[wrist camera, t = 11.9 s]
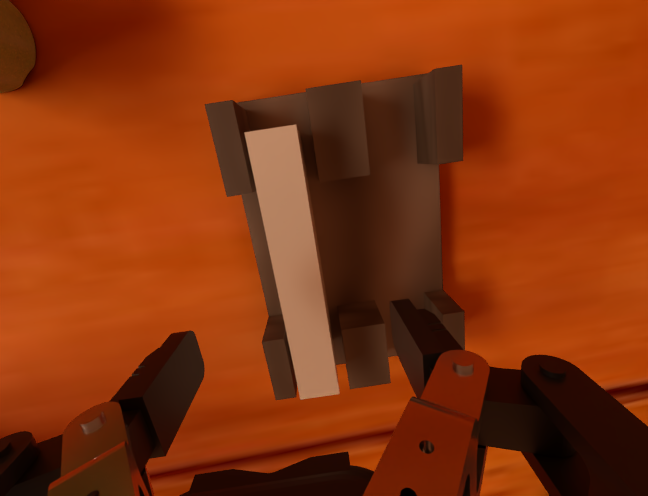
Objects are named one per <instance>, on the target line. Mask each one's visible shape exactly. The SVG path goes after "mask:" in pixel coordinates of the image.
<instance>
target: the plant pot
mask: <svg viewBox="0 0 648 496" xmlns="http://www.w3.org/2000/svg"><path fill="white" fill-rule="evenodd" d="M35 60H36V49H35V43H34V39H33V35H32V32H31V30H30V28H29V26H28V24H27V22H26V20H25V18H24V17H23V15H22V14H21V13H20V11H19V10H18V9H17V8H16V7H15V6H14V5H13V4H12V3H11V2H10V1H9V0H0V93H3V92H9V91H13V90H15V89H17V88H19V87H20V86H22V85H23V82H24V79H25V78H26V76H27V75H28V73H29V72H30V71H31V69H32V68H33V67H34V65H35Z"/></svg>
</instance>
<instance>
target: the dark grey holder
mask: <svg viewBox="0 0 648 496" xmlns="http://www.w3.org/2000/svg"><path fill="white" fill-rule="evenodd" d="M205 108H206V112H207V116H208V120H209V124H210V128H211V132H212V137H213V141H214V145H215V149H216V153H217V157H218V162H219V166H220V170H221V174H222V178H223V182H224V186H225V191H226V195H227V197H229V196H235V195H242V199H243V204H244V208H245V212H246V217H247V221H248V226H249V230H250V235H251V239H252V243H253V248H254V252H255V257H256V261H257V266H258V270H259V274H260V279H261V283H262V288H263V292H264V297H265V301H266V305H267V310H268V314H269V318H268V322H267V325H266V329H265V333H264V336H263V340H262V344H263V348H264V353H265V357H266V361H267V365H268V369H269V373H270V377H271V382H272V386H273V390H274V394H275V398H276V400H281V399H287V398H294V397H296V392H297V381H296V376H295V371H294V366H293V362H292V357H291V352H290V347H289V343H288V338H287V333H286V328H285V324H284V319H283V314H282V309H281V305H280V300H279V295H278V290H277V286H276V281H275V276H274V271H273V267H272V262H271V257H270V252H269V248H268V243H267V238H266V233H265V228H264V224H263V219H262V214H261V209H260V205H259V200H258V195H257V190H256V186H255V181H254V176H253V171H252V167H251V162H250V157H249V152H248V148H247V143H246V138H245V133H244V132H250V131H257V130H263V129H270V128H276V127H283V126H289V125H297V128H298V130H299V132H300V134H301V140H302V147H303V153H304V159H305V166H306V172H307V178H308V184H309V191H310V197H311V203H312V210H313V216H314V222H315V229H316V235H317V241H318V247H319V254H320V260H321V266H322V273H323V279H324V285H325V292H326V298H327V304H328V310H329V317H330V323H331V329H332V336H333V343H334V351H335V360H336V365H338V364H345V363H346V368H347V374H348V380H349V386H350V389H354V388H361V387H367V386H374V385H381V384H387V383H391V382H390V372H389V362H388V357H391V356H398V355H397V352H396V350H395V347H394V343H393V338H392V329H391V317H390V301H394V300H401V299H407V298H408V299H409V300H410V301H411V302H412V304H413V305H414V306H415V308H416V309H426V310H428V311H430V312H432V313H433V314H435V315H436V316H437V318H438V319H439V320H440V321H441V323H442V324H443V325H444V326H445V328H446V330H448V331H449V332H450V334H451V335H452V336H453V337H454V339H455V340H456V341H457V342H458V344H459V345H460V346H461V347H462V349H463V350H465V326H464V311H463V310H462V309H461V308H460V307H459V306H458V305H457V304H456V303H455V302H454V301H453V300H452V299H451V298H450V297H449V296H448V295H447V294H446V293H445V292H444V291H443V279H442V248H441V216H440V185H439V164H445V163H451V162H458V161H463V100H462V65H457V66H450V67H444V68H437V69H434V70H432V71H431V72H430V73H427V74H420V75H414V76H407V77H401V78H394V79H388V80H381V81H375V82H368V83H362V84H361V80H360V81H353V82H347V83H340V84H334V85H327V86H321V87H314V88H308V89H306V92H304V93H297V94H291V95H284V96H278V97H271V98H265V99H258V100H252V101H245V102H239V103H235V102H234V101H233V100H230V101H223V102H217V103H210V104H205Z"/></svg>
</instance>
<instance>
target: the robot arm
mask: <svg viewBox="0 0 648 496" xmlns="http://www.w3.org/2000/svg"><path fill="white" fill-rule="evenodd" d="M390 317H391V329H392V338H393V343H394V347H395V350H396V352H397V355H398V357H399V359H400V361H401V363H402V366H403V368H404V370H405V372H406V375H407V377H408V379H409V381H410V383H411V386H412V388H413V390H414V392H415V394H416V397H417V398H416V397H412V398H411V399H410V400H409V402H408V404H407V406H406V408H405V410H404V412H403V414H402V416H401V418H400V420H399V422H398V424H397V426H396V428H395V431H394V433H393V435H392V437H391V439H390V441H389V443H388V445H387V447H386V449H385V451H384V453H383V455H382V457H381V459H380V461H379V463H378V465H377V467H376V469H375V472H374V471H371V470H369V469H366V468H362V467H358V466H352V465H350V461H349V455H348V452H342V453H336V454H329V455H323V456H316V457H310V458H308V459H305V460H303V461H300V462H298V463H296V464H293V465H291V466H288V467H286V468H283V469H281V470H278V471H276V472H273V473H260V472H252V471H243V470H235V469H231V470H224V471H217V472H211V473H204V474H198V475H195V477H194V479H193V482H192V485H191V488H190V490H189V491H188V492H186V493H184V494H182V495H180V496H480V490H481V484H482V478H483V473H484V467H485V461H486V455H487V449H488V446H489V447H496V448H502V449H509V450H516V451H521V452H522V454H523V455H524V457H525V458H526V460H527V461H528V463H529V464H530V466H531V467H532V469H533V471H534V472H535V474H536V475H537V477H538V478H539V480H540V481H541V483H542V484H543V486H544V487H545V489H546V490H547V492H548V493H549V495H550V496H648V426H647V425H645V424H644V423H643V422H642V421H641V420H639V419H638V418H637V417H636V416H635V415H633V414H632V413H631V412H630V411H629V410H628V409H626V408H625V407H624V406H623V405H622V404H620V403H619V402H618V401H617V400H616V399H614V398H613V397H612V396H611V395H610V394H609V393H607V392H606V391H605V390H604V389H603V388H601V387H600V386H599V385H598V384H597V383H596V382H594V381H593V380H592V379H591V378H590V377H588V376H587V375H586V374H585V373H584V372H582V371H581V370H580V369H579V368H578V367H576V366H575V365H573V364H571V363H570V362H568V361H565V360H563V359H560V358H557V357H553V356H548V355H533V356H529V357H527V358H525V359H524V360H523V361H522V365H521V370H516V369H503V368H495V367H490V366H489V365H488V363H487V362H486V360H485V359H483V358H482V357H481V356H479V355H477V354H475V353H473V352H470V351H465V350H463V349H462V347H461V346H460V345H459V344H458V342H457V341H456V340H455V339H454V337H453V336H452V335H451V334H450V332H449V331H448V330H446V328H445V326H444V325H443V324H442V323H441V321H440V320H439V319H438V318H437V316H436V315H435V314H433V313H432V312H430V311H428V310H426V309H416V308H415V306H414V305H413V304H412V302H411V301H410V300H409V299H408V298H407V299H401V300H394V301H390ZM203 377H204V362H203V359H202V355H201V352H200V349H199V346H198V342H197V339H196V336H195V334H194V332H193V331H185V332H178V333H172V334H171V335H170V336H169V337H168V338H167V339H166V341H165V342H164V343H163V344H162V346H161V347H160V348H158V349H156V350H155V351H154V352H152V353H151V354H150V355H148V356H147V357H146V358H145V359H144V361H143V362H142V363H141V364H140V365H139V368H137V369H136V370H135V371H134V373H133V374H132V377H129V379H128V380H127V381H126V382H125V383H124V385H123V386H122V387H121V388H120V389H119V391H118V392H117V393H116V394H115V396H114V397H113V398H112V399H111V400H110V402H106V403H102V404H99V405H96V406H94V407H92V408H90V409H88V410H86V411H85V412H83V413H82V414H80V415H79V416H78V417H76V418H75V419H74V420H73V421H72V422H71V423H70V424H69V425H68V426H67V427H66V429H65V431H64V433H63V434H62V435H59V436H57V437H54V438H51V439H48V440H46V441H43V442H40V443H38V444H37V443H36V441H35V439H34V437H33V435H32V434H31V433H30V432H26V431H24V432H18V433H14V434H11V435H9V436H6V437H4V438H2V439H0V496H154V492H153V488H152V485H151V481H150V477H149V473H148V471H147V468H146V466H145V465H146V463H147V462H148V460H149V459H150V458H156V457H163V456H166V454H167V452H168V450H169V448H170V446H171V444H172V442H173V440H174V438H175V435H176V433H177V431H178V429H179V427H180V425H181V423H182V421H183V419H184V417H185V415H186V413H187V411H188V409H189V407H190V405H191V403H192V401H193V399H194V396H195V394H196V392H197V390H198V388H199V386H200V384H201V382H202V380H203Z"/></svg>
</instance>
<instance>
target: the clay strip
mask: <svg viewBox="0 0 648 496" xmlns="http://www.w3.org/2000/svg"><path fill="white" fill-rule="evenodd" d="M244 133H245V138H246V143H247V148H248V152H249V157H250V162H251V167H252V171H253V176H254V181H255V186H256V190H257V195H258V200H259V205H260V209H261V214H262V219H263V224H264V228H265V233H266V238H267V243H268V248H269V252H270V257H271V262H272V267H273V271H274V276H275V281H276V286H277V290H278V295H279V300H280V305H281V309H282V314H283V319H284V324H285V328H286V333H287V338H288V343H289V347H290V352H291V357H292V362H293V366H294V371H295V376H296V381H297V385H298V390H299V395H300V400H302V399H308V398H315V397H322V396H328V395H335V394H339V385H338V377H337V368H336V360H335V351H334V343H333V336H332V329H331V323H330V317H329V310H328V304H327V298H326V292H325V285H324V279H323V273H322V266H321V260H320V254H319V247H318V241H317V235H316V229H315V222H314V216H313V210H312V203H311V197H310V191H309V184H308V178H307V172H306V166H305V159H304V153H303V147H302V140H301V134H300V132H299V130H298V128H297V125H289V126H283V127H276V128H270V129H263V130H257V131H250V132H244Z"/></svg>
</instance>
